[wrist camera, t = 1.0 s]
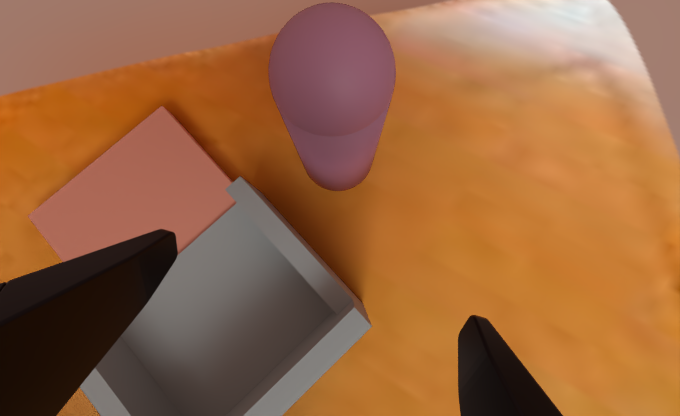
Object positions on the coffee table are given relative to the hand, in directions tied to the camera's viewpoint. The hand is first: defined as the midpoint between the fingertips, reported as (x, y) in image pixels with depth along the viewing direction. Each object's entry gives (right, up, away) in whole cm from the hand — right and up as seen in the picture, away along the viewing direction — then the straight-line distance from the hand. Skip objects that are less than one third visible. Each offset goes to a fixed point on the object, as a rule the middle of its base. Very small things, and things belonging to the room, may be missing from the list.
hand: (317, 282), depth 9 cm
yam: (+1, +6, +14) cm, 15 cm away
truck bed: (-10, -2, +13) cm, 16 cm away
